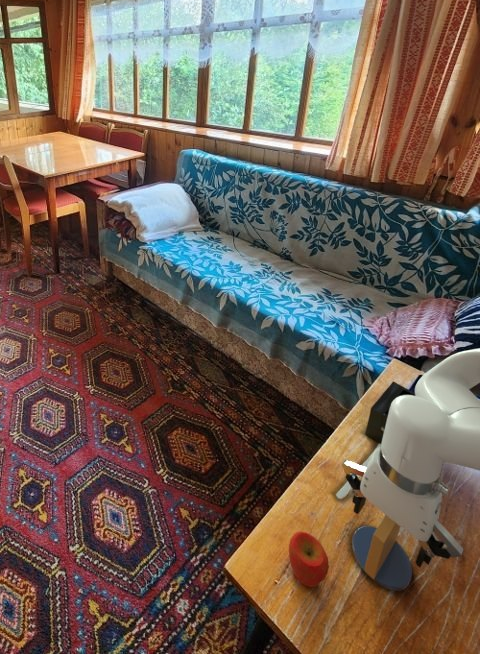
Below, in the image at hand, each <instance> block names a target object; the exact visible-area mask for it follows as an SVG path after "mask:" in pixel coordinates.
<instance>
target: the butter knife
mask: <svg viewBox="0 0 480 654" xmlns="http://www.w3.org/2000/svg"><path fill="white" fill-rule="evenodd" d="M378 447H381V444H378V443H377V446H376V447H375V449H374V450H373V451H372V452H371V454H370V455H369V456H368V458H366V460H365V461H364V462H363V463H362V464H361V466H363V467H367V465H368V463H369V461H370V459H371V457H372V455H373V453H374V452H375V450H376V449H377V448H378ZM357 477H358V478H359V479H360V477H361V476H359V475H357ZM351 489H352V487H351V486H350V484H349V482H348V481H347V480H346V483H344V485H343V486H342V487H341V488H340V489H339V490H338V491H337V493H335V496H336V497H337V499H339V500H342V499H344V498H346V497H347V495H348V494H349V492H350V491H351Z"/></svg>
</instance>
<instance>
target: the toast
mask: <svg viewBox="0 0 480 654" xmlns="http://www.w3.org/2000/svg"><path fill="white" fill-rule="evenodd" d="M376 528H377V529H376V531H375V533H374V535H373V538H372V542H371V546H370V550H369V553H368V557H367V561H366V565H365V568H364V571H365V572H366V573H367V574H368V575H370V576H371V577H372V578H373V579H374V578H375V577H376V575H377V573H378V571H379V570H380V568H381V566H382V564H383V563H384V561H385V559H386V557H387V556H388V554H389V552H390V550H391V549H392V547H393V545H394V543H395V542H396V541H397V540H398V538H399V537H398V536H399V533H400V530H401V527H400V526H399V525H398V524H397V523H395V522H394V521H393V520H392V519H390V518H389V517H388V516H387V515H385V514H384V517H383V518H382V520H381V521H380V523H379V524H378V526H377V527H376ZM364 571H363V572H364ZM365 572H364V573H365ZM366 573H365V574H366ZM367 574H366V575H367ZM368 575H367V576H368Z"/></svg>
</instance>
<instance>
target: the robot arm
mask: <svg viewBox="0 0 480 654" xmlns="http://www.w3.org/2000/svg"><path fill="white" fill-rule="evenodd" d="M478 384H480V347H479V348H473V349H468V350H463V351H459V352H456V353H454V354H452V355H449V356H447V357H446V358H445V359H443V360H442V361H440V362H439V363H438V364H436V365H435V366H433V367H432V368H430V369H429V370H428V371H426V372H425V373H424V374H423V375H422V376H421V377H420V378H419V379H418V381H417V383H416V385H415V387H414V393H415V396H413V395H403V396H399V397H397V398H395V399H394V400H393V402H392V403H391V406H390V409H389V414H388V418H387V422H386V426H385V430H384V435H383V439H382V443H381V447H378V448H377V449H376V448H375V449H376V450H375V449H374V450H375V452H374V453H373V452H372V453H373V455H372V457H371V459H370V461H369V463H368V465H367V467H363V466H361V465H362V464H361V465H360V464H358V463H355V462H353V461H351V460H347V459H345V460H344V461H343V462H342V464H341V466H342V469H343V472H344V474H345V479H346V482H347V481H348V482H349V484H350V486H351V489H352V490H351V494H352V495H353V496H352V501H351V502H352V503H353V504H354V506H353V507H354V508H353V513H355V514H356V515H359V514H360V512H361V510H362V509H363V508H364V506H365V504H366V501H368V502H370V503H371V504H372V505H373V506H374V507H375V508H376V509H378V510H379V511H380V512H381V513H383V514H384V516H385V515H387V516H388V517H389V518H390V519H392V520H393V521H394V522H395V523H397V524H398V525H399V526H400V528H402V529H403V530H404V531H405V532H407V534H409V535H411V536H412V537H413V538H415V539H416V540H418V542H419V543H420V548H419V551H418V553H417V555H416V556H417V557H416V560H415V564H416V566H417V567H418V568H421V567H422V565H423V564H424V563H425V564H426V565H427V566H429V565H430V563H431V561H432V558H435V556H436V557H440V558H443V559H446V560H450V558H461V557H462V555H463V553H464V550H465V549H464V548H463V546H462V545H461V544H460V543H459V542H458V541H457V540H456V538H455V537H453V535H452V533H450V532H449V531H448V529H447V528H445V526H444V525H443V524H442V523H441V522H440V521H439V518H440V514H441V510H442V502H443V495H444V496H445V497H447V496H448V493H449V491H450V487H449V486H447V485H446V484H445V483H444V482H443V481H442V478H440V477H441V474H442V472H441V471H442V468H443V464H444V463H449V464H453V465H457V466H460V467H465V468H468V469H473V470H476V471H480V399H479V398H478V397H477V396H476V394H474V393H473V392H472V391H471V389H472V388H474V387H475V386H477V385H478ZM357 475H359V476H360V477H361V479H360V477H359V478H358V477H357ZM438 538H439V539H440V540H441V541H440V540H439V539H438Z"/></svg>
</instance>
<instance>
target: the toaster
mask: <svg viewBox="0 0 480 654" xmlns="http://www.w3.org/2000/svg"><path fill="white" fill-rule="evenodd" d="M403 395H413V396H415V391H412V390H410V389H408V388H406V387H405V386H403V385H401V384H400V383H397V382H396V381H392V382H391V383H390V384H389V385H388V386H387V388H386V389H385V390H384V391H383V392H382V394H381V395H380V396H379V397H378V399H376V401H375V402H374V404H373V405H372V406H371V407H370V411H369V416H368V420H367V424H366V429H365V433H364V434H365V436H366V437H368V438H369V439H371V440H373V441H374V442H376V443H377V445H378V444H381V443H382V439H383V435H384V430H385V426H386V422H387V418H388V414H389V409H390V406H391V403H392V402H393V400H394V399H395V398H397V397H399V396H403Z"/></svg>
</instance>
